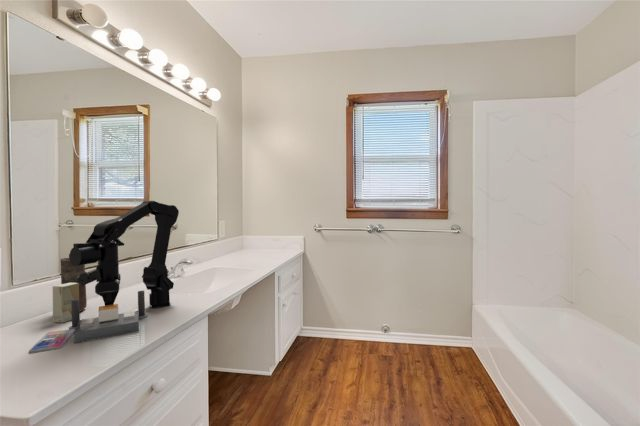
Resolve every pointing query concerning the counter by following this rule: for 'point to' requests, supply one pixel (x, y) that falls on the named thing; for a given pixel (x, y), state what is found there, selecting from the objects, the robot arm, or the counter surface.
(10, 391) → the counter surface
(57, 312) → the skincare box
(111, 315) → the slider
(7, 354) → the counter surface
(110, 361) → the counter surface
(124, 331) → the panel
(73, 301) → the post
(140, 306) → the post
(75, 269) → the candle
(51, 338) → the smartphone
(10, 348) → the counter surface
